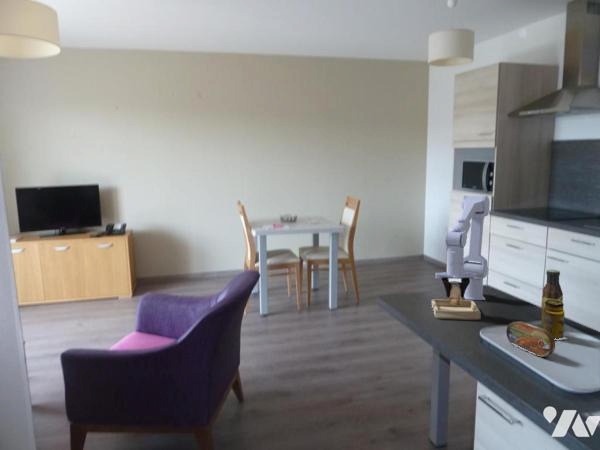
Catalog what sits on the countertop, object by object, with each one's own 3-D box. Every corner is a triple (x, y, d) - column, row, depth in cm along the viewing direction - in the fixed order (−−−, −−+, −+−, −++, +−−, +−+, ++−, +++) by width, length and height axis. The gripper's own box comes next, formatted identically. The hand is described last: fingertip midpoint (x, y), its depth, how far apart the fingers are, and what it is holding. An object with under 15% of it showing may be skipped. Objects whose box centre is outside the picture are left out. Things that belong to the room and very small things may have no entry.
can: (447, 300, 168) (448, 281, 167) (460, 301, 167) (460, 281, 166) (449, 304, 163) (449, 284, 162) (462, 305, 162) (462, 284, 161)
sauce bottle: (564, 329, 146) (567, 273, 143) (544, 328, 147) (547, 273, 145) (557, 322, 153) (560, 268, 150) (538, 321, 154) (540, 268, 151)
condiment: (569, 339, 138) (571, 304, 136) (545, 342, 137) (547, 306, 135) (553, 331, 145) (555, 297, 143) (530, 333, 144) (532, 299, 142)
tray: (431, 306, 174) (431, 299, 173) (472, 307, 171) (472, 300, 170) (435, 318, 160) (435, 311, 160) (480, 320, 157) (480, 312, 157)
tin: (505, 343, 137) (506, 318, 136) (512, 341, 139) (513, 316, 137) (549, 362, 124) (550, 334, 123) (556, 359, 125) (557, 332, 124)
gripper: (437, 264, 160) (436, 299, 162) (477, 265, 157) (476, 300, 159) (434, 260, 167) (434, 293, 169) (473, 260, 164) (473, 294, 166)
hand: (454, 296), depth 165 cm, fingers closed on can, 5 cm apart
